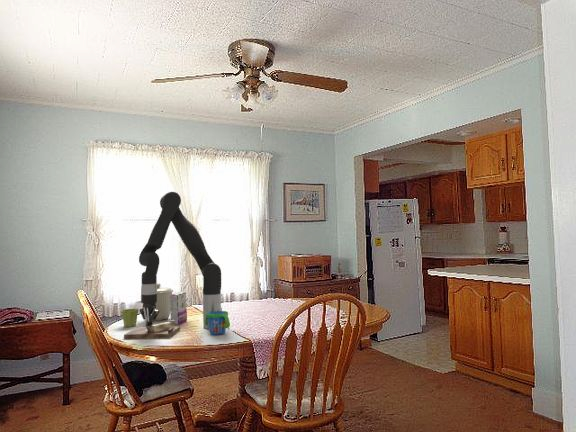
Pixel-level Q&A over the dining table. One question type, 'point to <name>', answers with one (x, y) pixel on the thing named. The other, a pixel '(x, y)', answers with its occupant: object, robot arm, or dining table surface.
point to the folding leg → (161, 326)
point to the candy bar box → (178, 307)
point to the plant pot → (129, 317)
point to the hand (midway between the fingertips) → (149, 328)
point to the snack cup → (217, 322)
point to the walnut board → (143, 333)
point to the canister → (163, 302)
